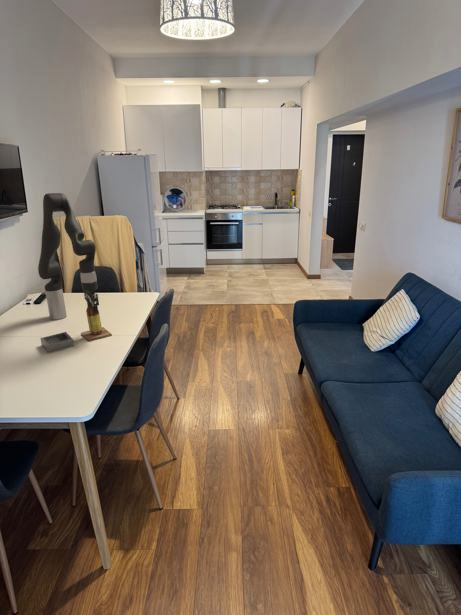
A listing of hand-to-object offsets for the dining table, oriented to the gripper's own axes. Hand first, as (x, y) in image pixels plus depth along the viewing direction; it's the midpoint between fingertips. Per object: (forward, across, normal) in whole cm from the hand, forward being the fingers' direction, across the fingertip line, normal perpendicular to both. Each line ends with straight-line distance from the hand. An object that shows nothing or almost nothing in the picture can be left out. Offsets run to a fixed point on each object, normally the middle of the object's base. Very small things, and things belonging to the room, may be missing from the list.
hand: (93, 310), depth 212 cm
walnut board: (+14, 0, 0) cm, 14 cm away
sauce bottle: (+13, 0, 0) cm, 13 cm away
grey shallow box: (+14, +1, -20) cm, 24 cm away
